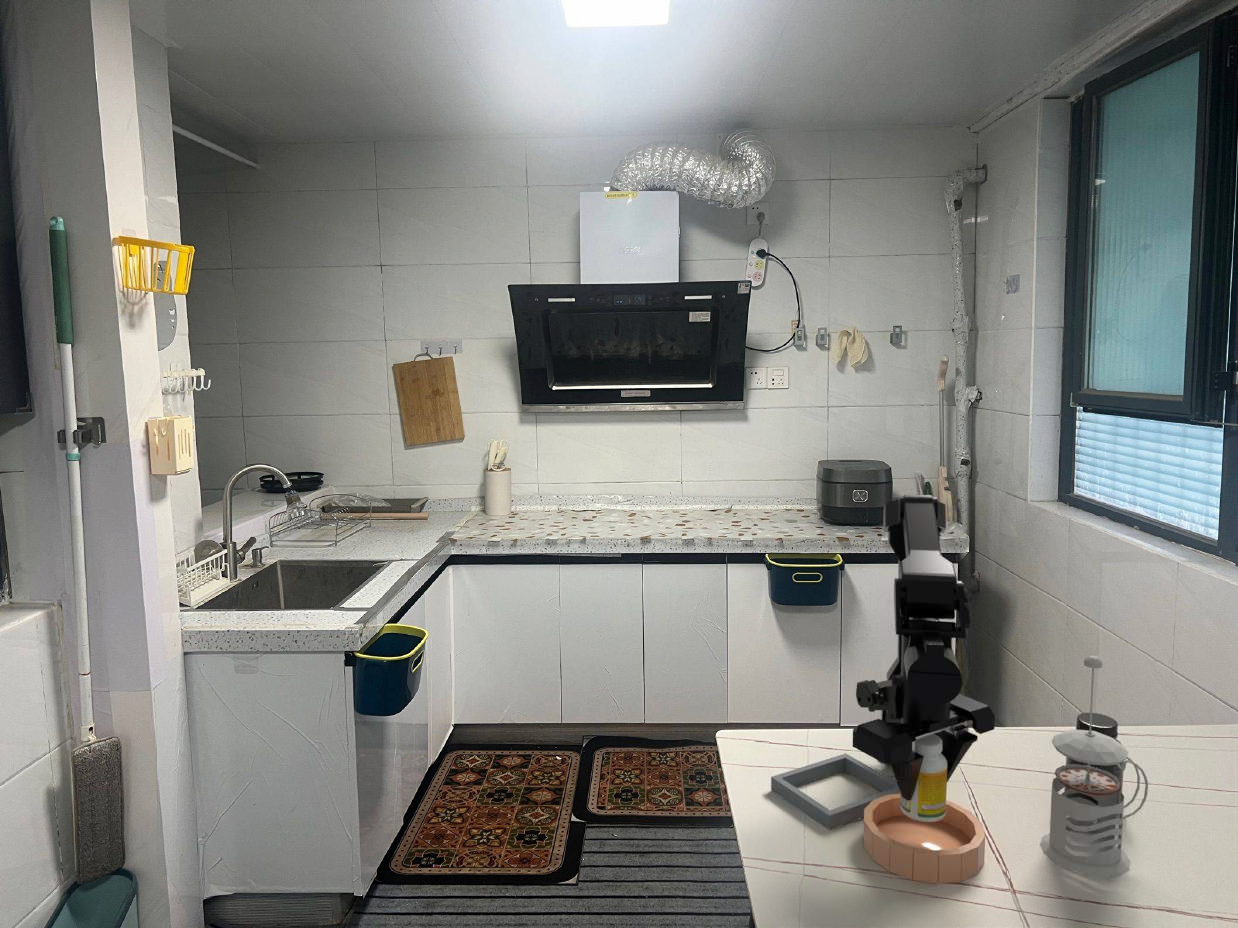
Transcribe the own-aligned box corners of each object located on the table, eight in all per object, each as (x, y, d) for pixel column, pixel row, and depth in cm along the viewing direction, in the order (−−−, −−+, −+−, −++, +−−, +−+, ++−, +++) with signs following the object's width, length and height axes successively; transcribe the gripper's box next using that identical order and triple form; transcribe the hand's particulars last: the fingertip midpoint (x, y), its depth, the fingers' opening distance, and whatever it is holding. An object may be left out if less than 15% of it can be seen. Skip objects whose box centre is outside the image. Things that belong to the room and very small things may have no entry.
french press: (1025, 830, 109) (1032, 642, 106) (1117, 830, 109) (1127, 641, 106) (1063, 877, 100) (1072, 671, 96) (1164, 876, 99) (1176, 670, 96)
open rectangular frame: (845, 765, 128) (845, 753, 127) (907, 801, 117) (907, 787, 117) (771, 789, 121) (771, 776, 121) (829, 829, 111) (829, 815, 110)
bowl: (918, 807, 115) (919, 783, 115) (1008, 860, 103) (1009, 833, 103) (840, 837, 109) (840, 811, 108) (926, 896, 96) (927, 867, 96)
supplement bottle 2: (1057, 804, 115) (1061, 720, 114) (1072, 785, 120) (1075, 704, 119) (1114, 822, 111) (1119, 734, 109) (1127, 801, 116) (1131, 717, 114)
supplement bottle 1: (892, 813, 105) (893, 739, 104) (911, 796, 109) (912, 724, 108) (935, 828, 102) (937, 752, 100) (953, 810, 106) (955, 737, 104)
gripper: (927, 639, 115) (925, 748, 117) (821, 666, 106) (820, 784, 108) (999, 664, 105) (995, 783, 107) (888, 696, 96) (886, 825, 98)
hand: (923, 792), depth 105 cm, fingers closed on supplement bottle 1, 5 cm apart
